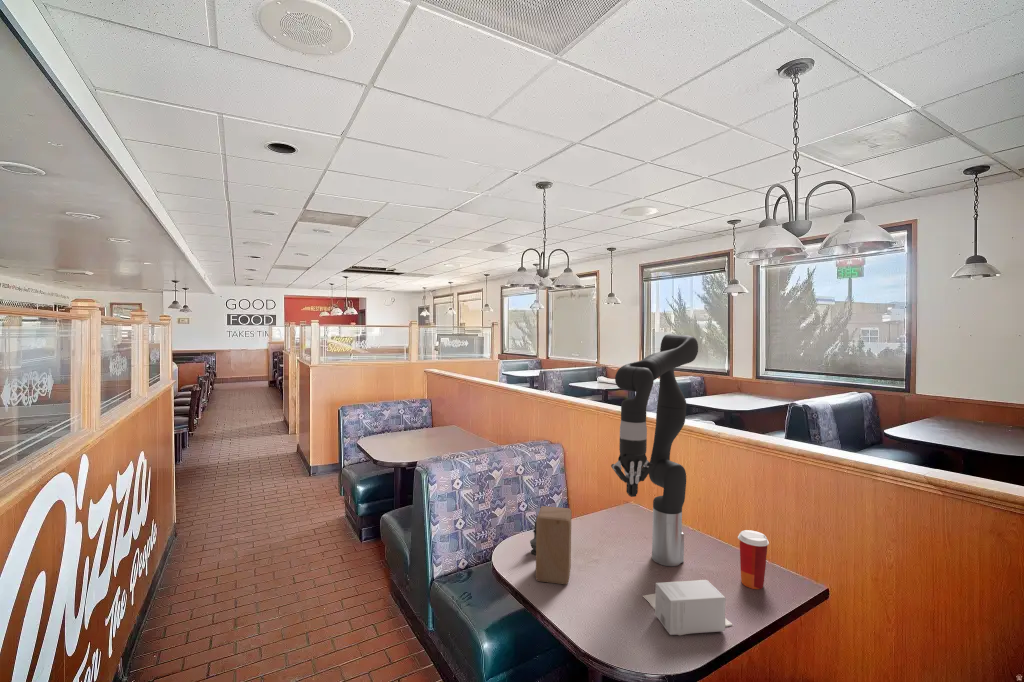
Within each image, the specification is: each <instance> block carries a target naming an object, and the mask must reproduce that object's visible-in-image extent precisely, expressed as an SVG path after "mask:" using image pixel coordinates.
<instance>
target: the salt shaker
mask: <svg viewBox="0 0 1024 682" xmlns="http://www.w3.org/2000/svg"><path fill="white" fill-rule="evenodd" d="M536 524H537V520H535V521H534V528H533V538H532V539H530V540H529V544H530V546H531V548H532V549H531V550H530V554H531V555H533V556H534V557H536Z"/></svg>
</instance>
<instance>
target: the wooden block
mask: <svg viewBox="0 0 1024 682" xmlns="http://www.w3.org/2000/svg"><path fill="white" fill-rule="evenodd" d="M572 512H573V511H572V510H571V508H569V507H559V506H558V507H557V506H548V505H547V506H546V505H542V506H540V508H539V511H538V514H537V516H536V521H537V524H536V556H535V578H536V579H535V580H536V581H537V582H541V583H542V582H544V583H552V584H559V585H568V584H569V581H570V574H571V567H572V519H573V518H572V516H573V515H572Z"/></svg>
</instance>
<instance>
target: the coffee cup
mask: <svg viewBox="0 0 1024 682" xmlns="http://www.w3.org/2000/svg"><path fill="white" fill-rule="evenodd" d="M737 539H738V540H739V560H740V561H739V563H740V581H741V584H742V585H743V586H745V587H746V588H749V589H752V590H762V589H763V588H764V585H765V575H766V567H767V553H768V546H769V544H770V542H769V540H768V538H767V536H766V535H765V534H764V533H762V532H759V531H756V530H751V529H749V530H748V529H745V530H741V531H740V532H739V534H738V536H737Z"/></svg>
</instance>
